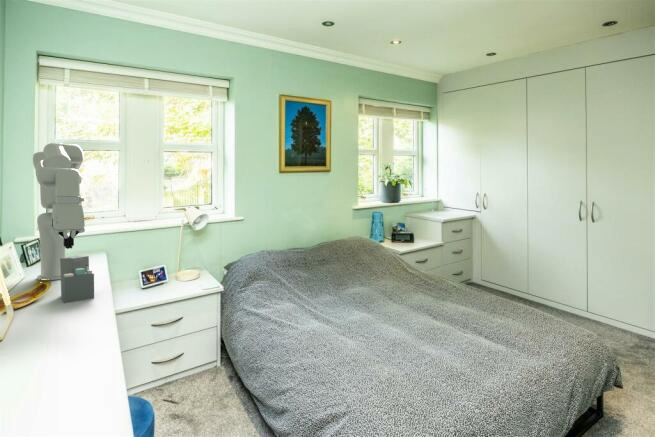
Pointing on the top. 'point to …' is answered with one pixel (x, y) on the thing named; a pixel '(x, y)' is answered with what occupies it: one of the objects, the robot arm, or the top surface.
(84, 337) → the top surface
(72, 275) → the cream button
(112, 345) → the top surface
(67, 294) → the panel
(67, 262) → the skincare box
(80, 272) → the teal button
